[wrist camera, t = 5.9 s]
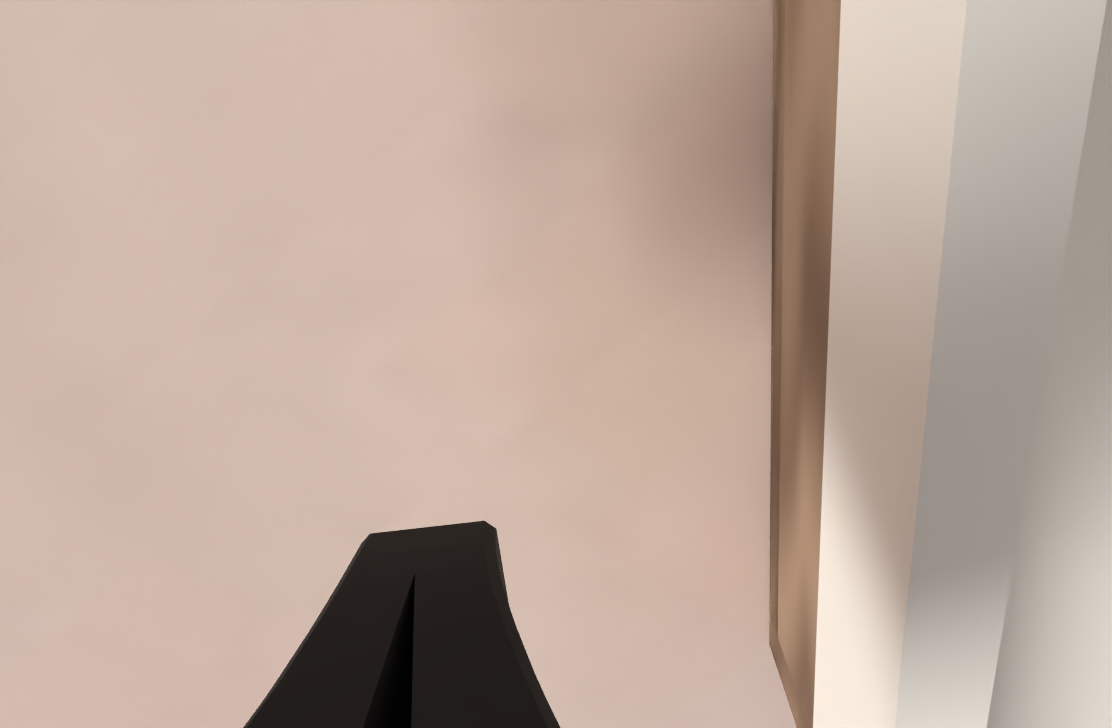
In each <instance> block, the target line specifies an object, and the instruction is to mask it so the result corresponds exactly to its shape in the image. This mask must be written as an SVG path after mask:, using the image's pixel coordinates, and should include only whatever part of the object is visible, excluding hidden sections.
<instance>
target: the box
mask: <svg viewBox="0 0 1112 728" xmlns="http://www.w3.org/2000/svg"><path fill="white" fill-rule="evenodd" d="M840 13H841V0H774V24H773V180H772V335H771V490H770V648H771V651H772V654H773V657H774V660H775V663H776V666H777V669H778V672H779V675H780V678H781V681H782V684H783V687H784V690H785V693H786V696H787V699H788V702H789V705H790V708H791V711H792V714H793V717H794V720H795V723H796V726H797V728H813V713H814V687H815V661H816V635H817V609H818V583H819V557H820V531H821V505H822V479H823V454H824V428H825V402H826V376H827V350H828V324H829V298H830V272H831V246H832V220H833V194H834V168H835V142H836V117H837V91H838V65H839V39H840Z"/></svg>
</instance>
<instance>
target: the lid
mask: <svg viewBox="0 0 1112 728" xmlns="http://www.w3.org/2000/svg"><path fill="white" fill-rule="evenodd" d="M813 728H1112V0H841V13H840V39H839V65H838V91H837V117H836V142H835V168H834V194H833V220H832V246H831V272H830V298H829V324H828V350H827V376H826V402H825V428H824V454H823V479H822V505H821V531H820V557H819V583H818V609H817V635H816V661H815V687H814V713H813Z"/></svg>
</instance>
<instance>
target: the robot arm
mask: <svg viewBox="0 0 1112 728" xmlns="http://www.w3.org/2000/svg"><path fill="white" fill-rule="evenodd" d="M244 728H560V726H559V724H558V722H557V720H556V718H555V716H554V714H553V712H552V710H551V708H550V706H549V704H548V702H547V700H546V697H545V695H544V693H543V691H542V688H541V686H540V684H539V682H538V680H537V677H536V675H535V673H534V670H533V668H532V665H531V663H530V660H529V658H528V655H527V653H526V650H525V648H524V645H523V643H522V640H521V638H520V635H519V633H518V630H517V628H516V625H515V622H514V619H513V616H512V613H511V610H510V607H509V603H508V597H507V591H506V585H505V579H504V573H503V567H502V561H501V555H500V549H499V543H498V537H497V531H496V528H494V527H493V526H491V525H490V524H488V523H487V522H485V521H478V522H470V523H461V524H452V525H443V526H434V527H425V528H416V529H407V530H399V531H390V532H381V533H372V534H369V535H368V537H367V538H366V539H365V540H364V541H363V542H362V543H361V545H360V547H359V549H358V550H357V552H356V554H355V556H354V557H353V559H352V561H351V563H350V564H349V566H348V568H347V570H346V571H345V573H344V575H343V577H342V578H341V580H340V582H339V583H338V585H337V587H336V589H335V590H334V592H333V594H332V595H331V597H330V599H329V600H328V602H327V604H326V605H325V607H324V608H323V610H322V612H321V613H320V615H319V616H318V618H317V620H316V621H315V623H314V625H313V626H312V628H311V629H310V631H309V633H308V634H307V636H306V637H305V639H304V640H303V642H302V643H301V645H300V646H299V648H298V649H297V651H296V652H295V654H294V655H293V657H292V658H291V660H290V661H289V663H288V665H287V666H286V668H285V669H284V671H283V672H282V674H281V675H280V677H279V678H278V680H277V681H276V683H275V684H274V686H273V687H272V689H271V690H270V692H269V693H268V694H267V696H266V697H265V699H264V700H263V702H262V703H261V704H260V706H259V707H258V709H257V710H256V711H255V713H254V714H253V715H252V717H251V718H250V719H249V721H248V722H247V723H246V725H245V726H244Z"/></svg>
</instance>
